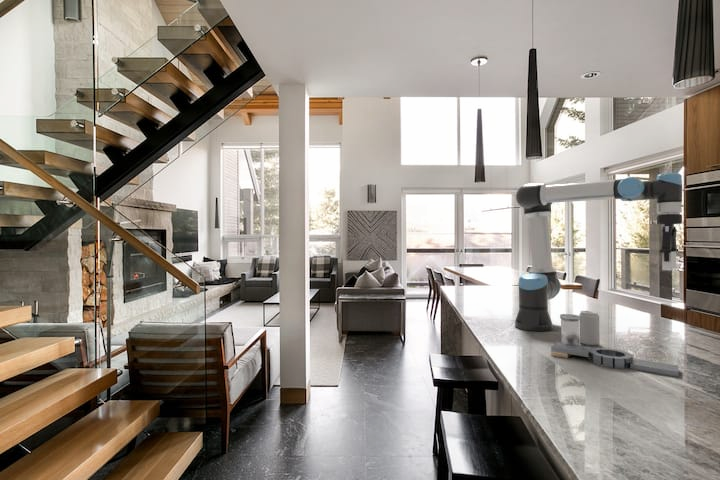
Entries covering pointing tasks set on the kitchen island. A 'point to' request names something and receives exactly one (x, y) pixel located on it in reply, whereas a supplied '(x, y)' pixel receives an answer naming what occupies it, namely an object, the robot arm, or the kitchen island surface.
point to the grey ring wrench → (613, 358)
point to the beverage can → (589, 328)
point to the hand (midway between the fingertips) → (669, 269)
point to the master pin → (570, 329)
